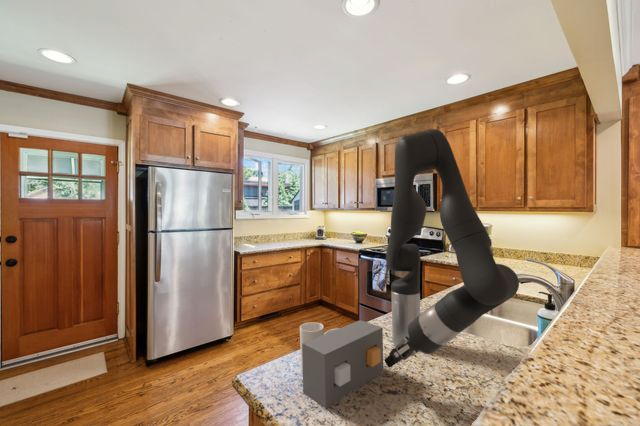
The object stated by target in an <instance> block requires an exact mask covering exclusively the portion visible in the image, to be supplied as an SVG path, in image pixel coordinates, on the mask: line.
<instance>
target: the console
mask: <svg viewBox="0 0 640 426" xmlns="http://www.w3.org/2000/svg"><path fill="white" fill-rule="evenodd" d="M383 328H384V327H382V326H379V325H376V324H373V323H369V322H367V321H365V320H361V319H359V320H357V321H354V322H351V323H349V324H347V325H345V326H342V327H339V329H337V330H334V331H332V332H329V333H327V334H324V335H322V336H319V337H317V338H314V339H312V340H309V341H307V342H304V343H302V358H303V372H302V393H303V394H304V395H306V396H307V397H309V398H310V399H311V400H313V401H314V402H316V403H317V404H318V405H319V406H321V407H323V408H324V409H328V408H329V407H330V406H332V405H334V404H335V403H337V402H338V401H340V400H341V399H343V398H344V397H346V396H348V395H349V394H350V393H352V392H353V391H355V390H357V389H358V388H360V387H362V386H363V385H364V384H366V383H368V382H369V381H371V380H372V379H374V378H375V377H377V376H378V375H380V374H381V373H383V372H384V341H383V339H384V335H383V331H384V330H383ZM372 346H376V347H378V348H380V350H381V362H380V363H378V364H377V365H375V366H373V367H371V366H369V365H367V364H366V350H367V349H368V348H370V347H372ZM342 362H345V363H347V364H349V365H350V381H349V382H347V383H345V384H344V385H342V386H338V385H336V384H335V383H334V371H333V367H334V366H336V365H338V364H340V363H342Z"/></svg>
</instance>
